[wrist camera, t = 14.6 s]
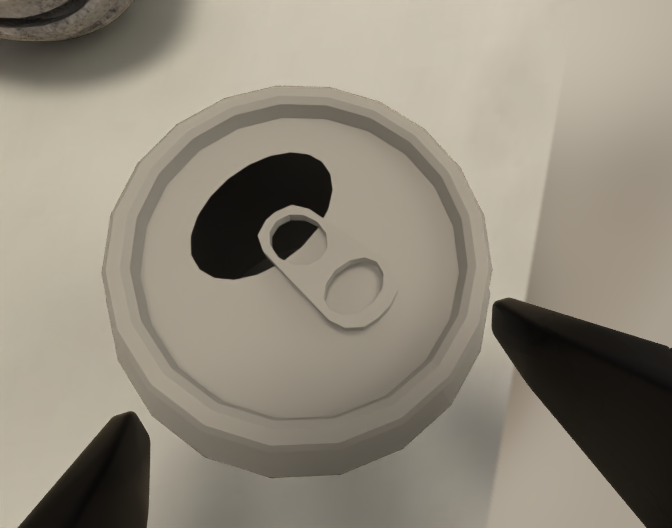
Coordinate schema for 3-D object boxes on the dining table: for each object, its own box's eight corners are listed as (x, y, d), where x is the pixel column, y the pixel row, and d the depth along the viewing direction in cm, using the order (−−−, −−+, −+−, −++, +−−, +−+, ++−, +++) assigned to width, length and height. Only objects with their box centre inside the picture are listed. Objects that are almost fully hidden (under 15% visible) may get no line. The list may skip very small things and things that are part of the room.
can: (306, 223, 19) (302, -17, 8) (421, 329, 18) (625, 235, 6) (187, 334, 17) (-63, 236, 6) (307, 460, 16) (305, 666, 4)
